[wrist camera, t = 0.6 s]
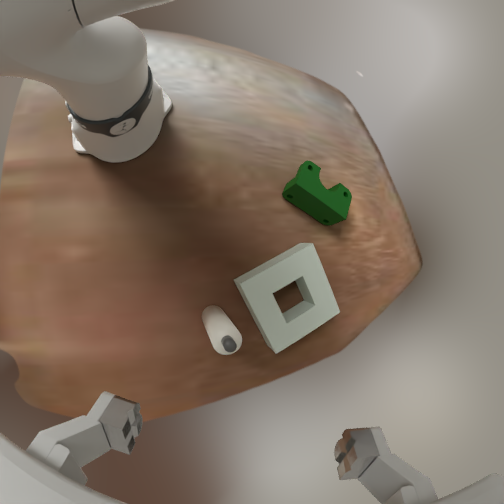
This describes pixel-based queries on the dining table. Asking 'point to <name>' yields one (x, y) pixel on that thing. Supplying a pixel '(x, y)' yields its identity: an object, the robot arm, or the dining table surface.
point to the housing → (278, 276)
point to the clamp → (317, 195)
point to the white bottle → (221, 330)
